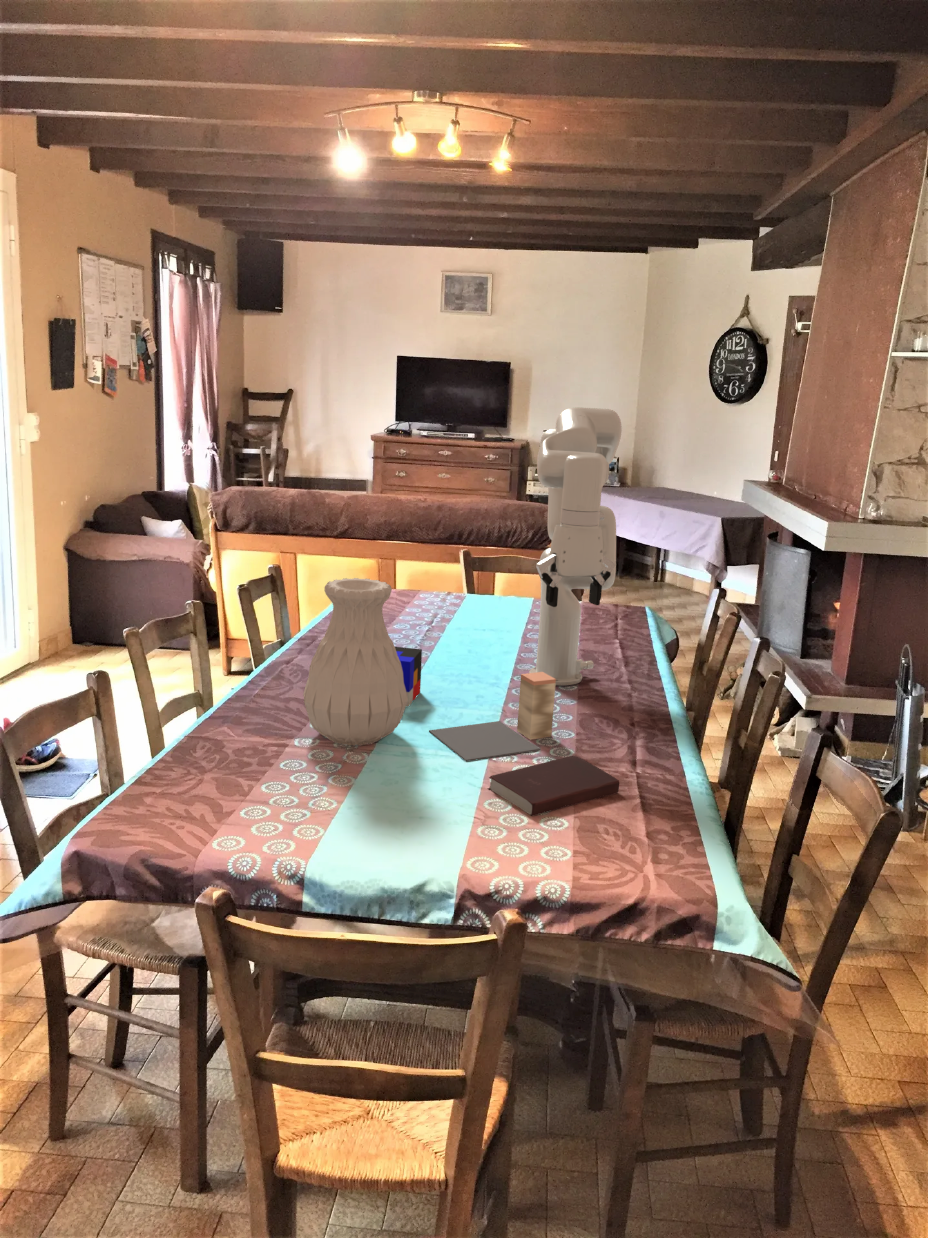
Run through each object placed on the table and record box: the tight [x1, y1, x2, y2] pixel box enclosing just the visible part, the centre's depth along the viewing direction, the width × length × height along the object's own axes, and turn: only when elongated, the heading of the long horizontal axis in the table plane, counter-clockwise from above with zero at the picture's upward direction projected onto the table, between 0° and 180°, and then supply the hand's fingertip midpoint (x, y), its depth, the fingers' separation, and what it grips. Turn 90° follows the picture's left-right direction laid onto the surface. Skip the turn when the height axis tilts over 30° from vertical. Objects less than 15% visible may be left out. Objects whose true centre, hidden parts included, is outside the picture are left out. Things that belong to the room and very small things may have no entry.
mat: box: [428, 720, 541, 762], centre depth 189 cm, size 16×16×1 cm
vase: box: [302, 577, 408, 747], centre depth 184 cm, size 20×20×30 cm
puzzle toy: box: [395, 646, 423, 707], centre depth 210 cm, size 10×10×10 cm
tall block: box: [516, 672, 556, 741], centre depth 192 cm, size 5×5×12 cm
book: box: [487, 755, 620, 817], centre depth 167 cm, size 13×19×3 cm, turn 124°
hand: (573, 604), depth 193 cm, fingers open, 9 cm apart
